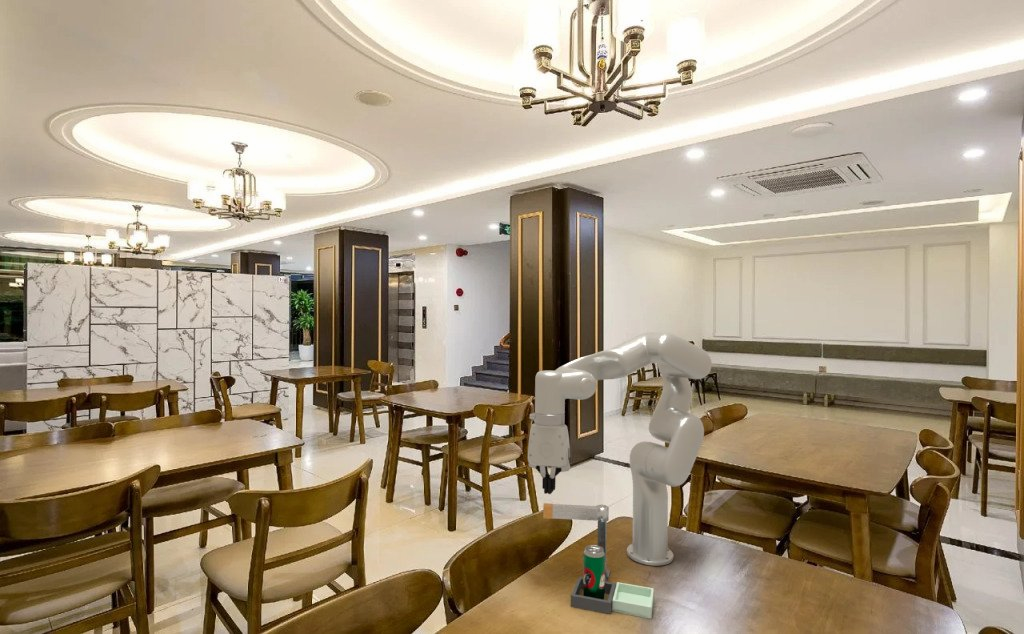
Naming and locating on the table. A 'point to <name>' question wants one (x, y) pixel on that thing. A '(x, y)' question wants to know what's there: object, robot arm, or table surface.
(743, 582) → the table surface
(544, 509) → the bar
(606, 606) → the collar
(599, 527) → the post
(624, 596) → the tray
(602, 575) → the soda can
